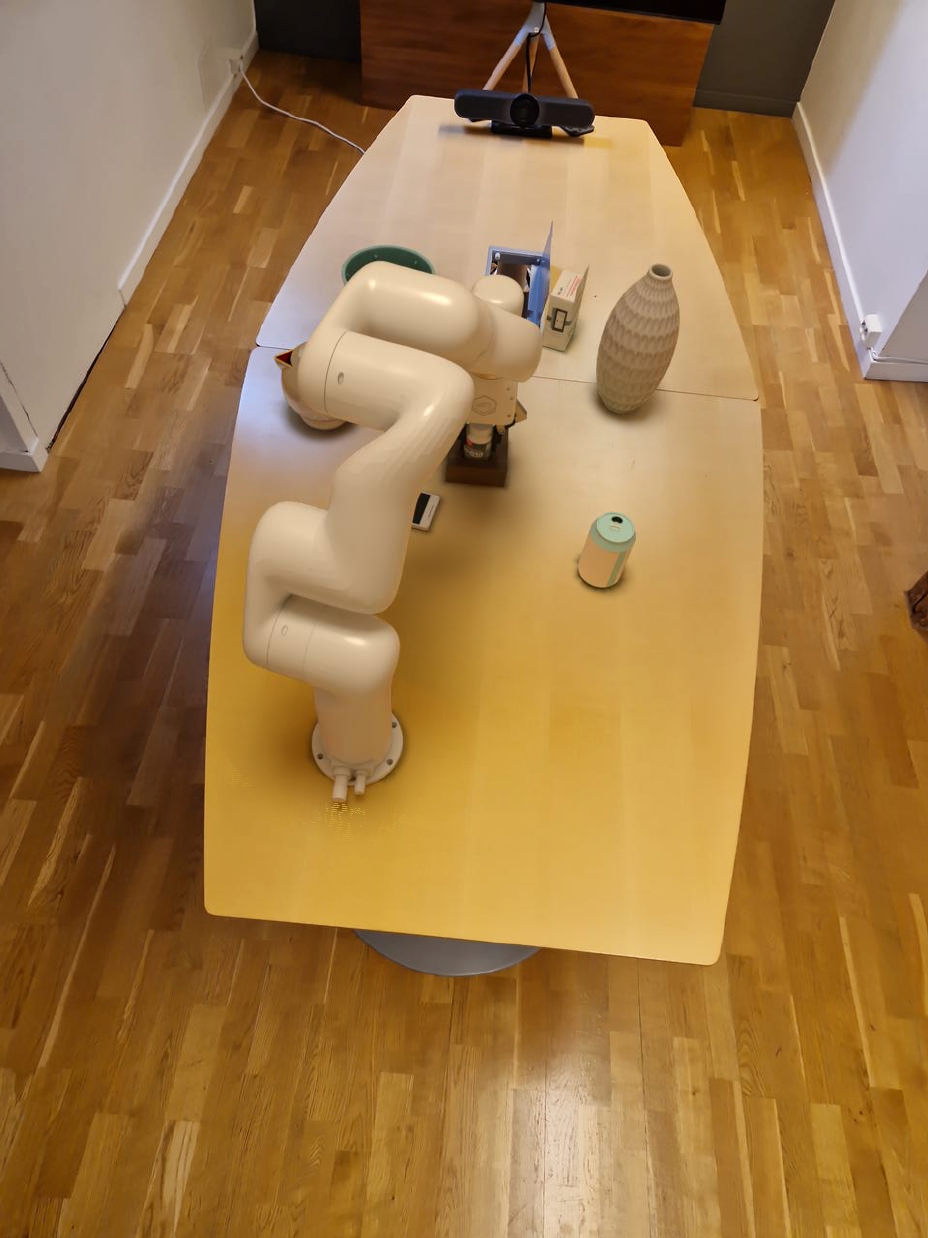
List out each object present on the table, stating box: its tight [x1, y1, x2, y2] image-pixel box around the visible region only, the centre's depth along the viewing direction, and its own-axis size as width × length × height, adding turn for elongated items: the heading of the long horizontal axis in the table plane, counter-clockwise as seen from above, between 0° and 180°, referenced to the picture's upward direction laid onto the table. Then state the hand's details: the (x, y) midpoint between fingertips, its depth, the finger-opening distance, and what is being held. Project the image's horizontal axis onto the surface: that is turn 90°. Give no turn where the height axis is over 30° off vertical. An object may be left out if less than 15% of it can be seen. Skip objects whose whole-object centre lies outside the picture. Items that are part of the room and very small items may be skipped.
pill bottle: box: [462, 422, 494, 460], centre depth 137 cm, size 5×5×8 cm
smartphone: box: [411, 491, 441, 532], centre depth 136 cm, size 7×16×1 cm, turn 74°
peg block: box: [444, 422, 510, 488], centre depth 141 cm, size 10×10×4 cm
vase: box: [595, 262, 681, 415], centre depth 140 cm, size 13×13×28 cm
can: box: [577, 511, 637, 588], centre depth 127 cm, size 7×7×12 cm
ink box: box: [542, 262, 590, 352], centre depth 155 cm, size 8×5×15 cm, turn 160°
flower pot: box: [341, 244, 437, 286], centre depth 149 cm, size 16×16×16 cm
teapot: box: [273, 340, 347, 431], centre depth 139 cm, size 18×14×16 cm
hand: (478, 442), depth 138 cm, fingers closed on pill bottle, 4 cm apart
